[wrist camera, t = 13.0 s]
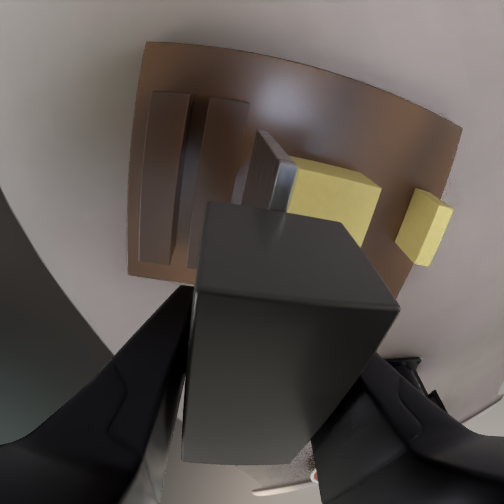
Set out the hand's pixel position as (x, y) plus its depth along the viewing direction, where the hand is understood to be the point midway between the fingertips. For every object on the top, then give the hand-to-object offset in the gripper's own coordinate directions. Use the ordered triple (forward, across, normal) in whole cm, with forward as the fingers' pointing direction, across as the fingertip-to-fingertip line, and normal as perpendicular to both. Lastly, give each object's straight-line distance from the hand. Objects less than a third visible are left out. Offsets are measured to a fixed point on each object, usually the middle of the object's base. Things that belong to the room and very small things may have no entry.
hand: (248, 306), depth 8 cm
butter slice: (+12, -13, 0) cm, 17 cm away
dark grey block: (+4, 0, 0) cm, 5 cm away
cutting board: (+13, -4, 0) cm, 14 cm away
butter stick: (+12, -5, 0) cm, 13 cm away
